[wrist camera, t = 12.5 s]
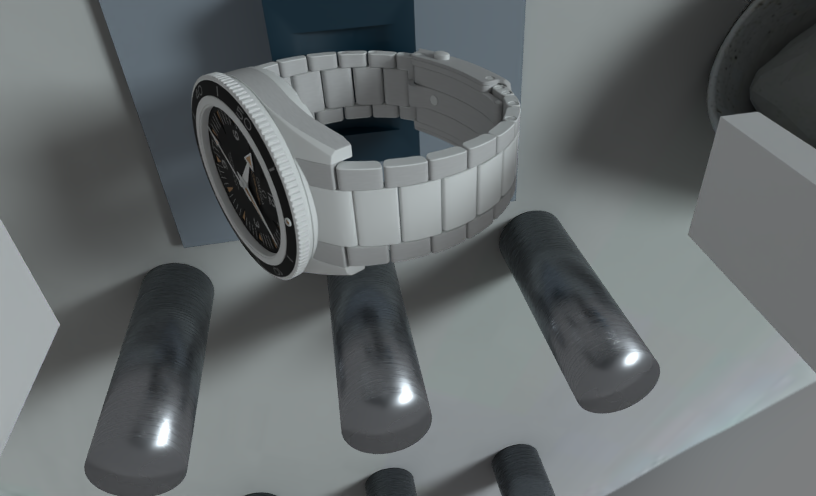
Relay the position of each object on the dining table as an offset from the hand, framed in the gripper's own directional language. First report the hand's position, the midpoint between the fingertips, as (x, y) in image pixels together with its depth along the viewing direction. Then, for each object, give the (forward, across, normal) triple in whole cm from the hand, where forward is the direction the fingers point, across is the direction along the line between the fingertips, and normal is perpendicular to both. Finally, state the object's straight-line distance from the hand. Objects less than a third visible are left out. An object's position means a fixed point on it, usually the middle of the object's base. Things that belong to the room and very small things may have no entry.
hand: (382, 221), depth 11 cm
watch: (+12, 0, -1) cm, 12 cm away
